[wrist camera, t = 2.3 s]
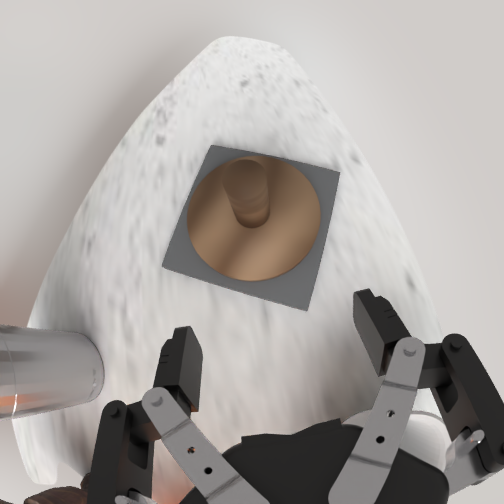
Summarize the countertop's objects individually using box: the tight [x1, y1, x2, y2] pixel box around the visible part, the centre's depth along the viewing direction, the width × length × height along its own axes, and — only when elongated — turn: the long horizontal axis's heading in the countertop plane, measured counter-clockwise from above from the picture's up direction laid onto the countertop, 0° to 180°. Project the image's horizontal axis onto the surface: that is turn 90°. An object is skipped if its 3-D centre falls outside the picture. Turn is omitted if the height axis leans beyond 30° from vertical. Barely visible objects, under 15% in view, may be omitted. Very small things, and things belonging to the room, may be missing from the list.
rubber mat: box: [162, 145, 340, 311], centre depth 31 cm, size 16×16×1 cm
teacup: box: [342, 410, 452, 472], centre depth 19 cm, size 12×15×10 cm
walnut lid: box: [187, 156, 321, 282], centre depth 26 cm, size 14×14×8 cm
